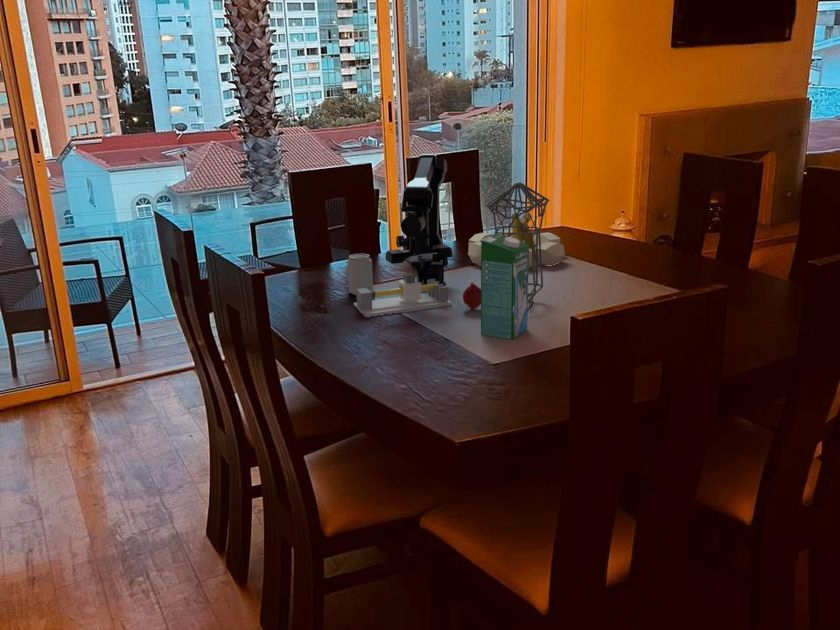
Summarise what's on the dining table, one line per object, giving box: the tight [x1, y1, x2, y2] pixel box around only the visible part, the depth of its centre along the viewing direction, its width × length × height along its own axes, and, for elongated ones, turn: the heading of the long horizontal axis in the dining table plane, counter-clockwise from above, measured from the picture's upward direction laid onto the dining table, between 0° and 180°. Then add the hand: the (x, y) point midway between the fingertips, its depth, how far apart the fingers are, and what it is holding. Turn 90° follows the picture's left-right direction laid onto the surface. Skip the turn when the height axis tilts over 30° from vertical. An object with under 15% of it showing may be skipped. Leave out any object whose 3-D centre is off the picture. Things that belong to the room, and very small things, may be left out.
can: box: [347, 253, 374, 296], centre depth 233 cm, size 8×8×12 cm
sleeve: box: [397, 272, 422, 301], centre depth 220 cm, size 5×5×7 cm
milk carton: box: [480, 233, 530, 341], centre depth 193 cm, size 9×9×25 cm
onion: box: [462, 281, 481, 311], centre depth 215 cm, size 6×6×8 cm
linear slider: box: [353, 279, 453, 318], centre depth 220 cm, size 26×12×6 cm, turn 111°
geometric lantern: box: [485, 182, 551, 307], centre depth 215 cm, size 16×16×35 cm
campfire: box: [467, 212, 566, 269], centre depth 270 cm, size 35×34×17 cm
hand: (419, 282), depth 221 cm, fingers closed
